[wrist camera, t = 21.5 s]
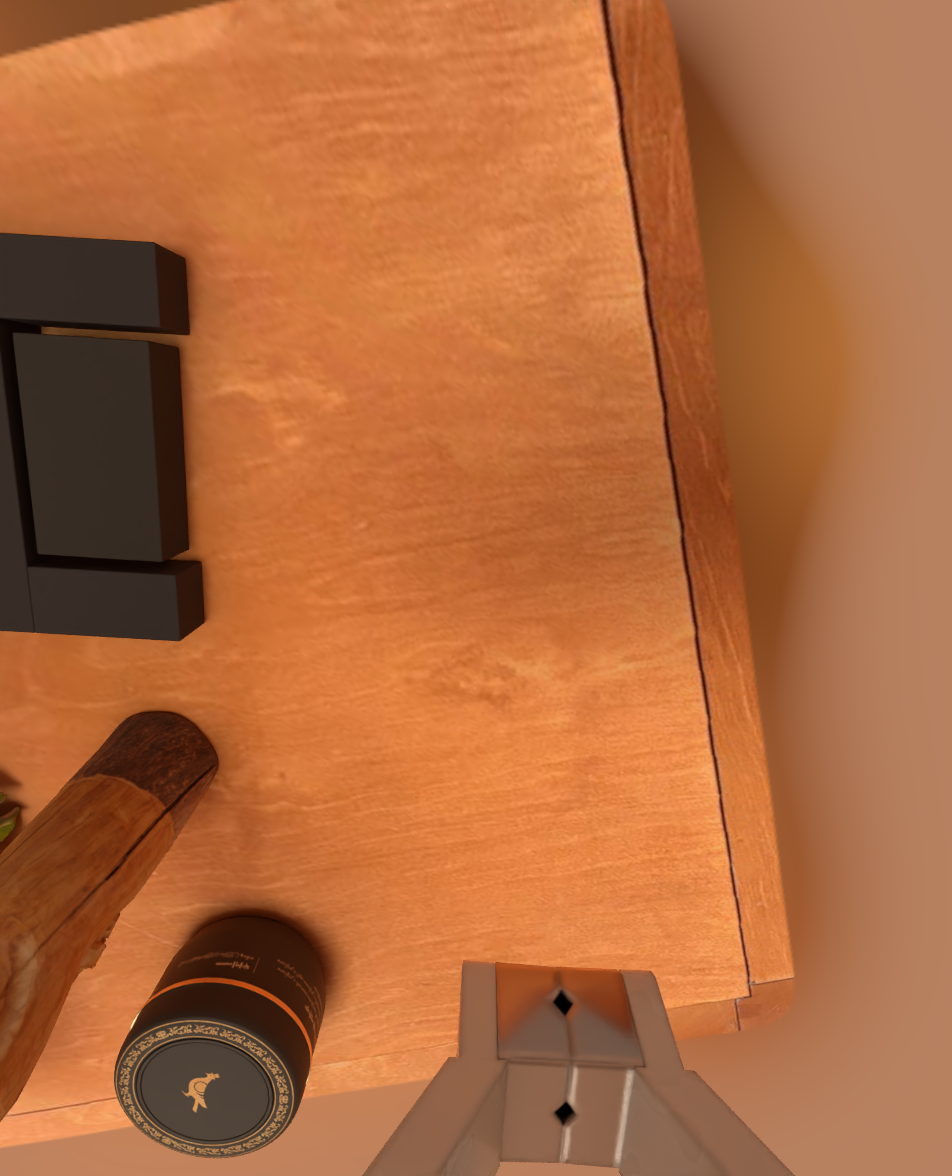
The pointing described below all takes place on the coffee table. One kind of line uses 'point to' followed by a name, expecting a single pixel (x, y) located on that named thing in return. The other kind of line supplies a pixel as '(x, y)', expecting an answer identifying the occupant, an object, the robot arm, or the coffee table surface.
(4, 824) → the passion flower
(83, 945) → the sculpture
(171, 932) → the coffee table surface
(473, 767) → the coffee table surface
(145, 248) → the base pad
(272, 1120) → the jar
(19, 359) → the black pad
